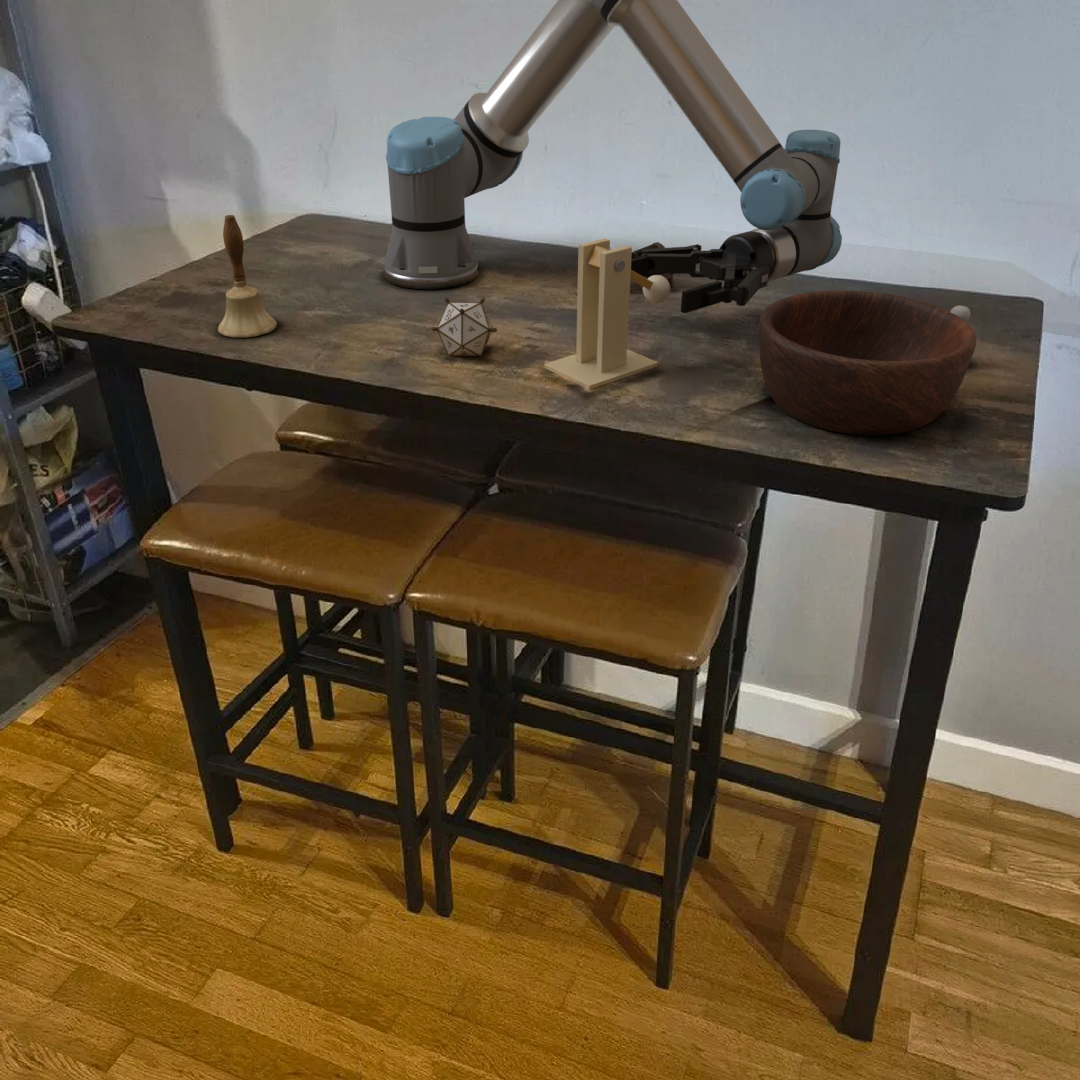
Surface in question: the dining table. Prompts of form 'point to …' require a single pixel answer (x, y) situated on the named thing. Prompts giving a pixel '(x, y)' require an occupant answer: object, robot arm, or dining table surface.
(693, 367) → the dining table surface
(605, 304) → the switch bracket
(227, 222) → the hand bell
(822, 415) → the wooden bowl
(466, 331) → the game die
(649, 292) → the lever
